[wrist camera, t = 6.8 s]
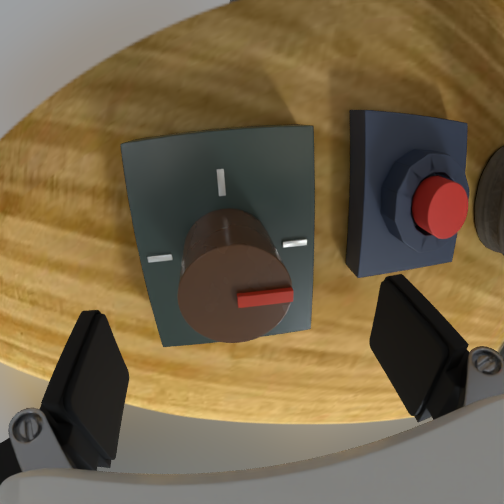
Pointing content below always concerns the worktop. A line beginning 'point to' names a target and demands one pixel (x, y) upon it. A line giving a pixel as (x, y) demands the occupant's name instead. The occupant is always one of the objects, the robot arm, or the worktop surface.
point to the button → (440, 206)
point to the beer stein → (491, 204)
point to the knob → (232, 278)
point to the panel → (221, 207)
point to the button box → (398, 188)
